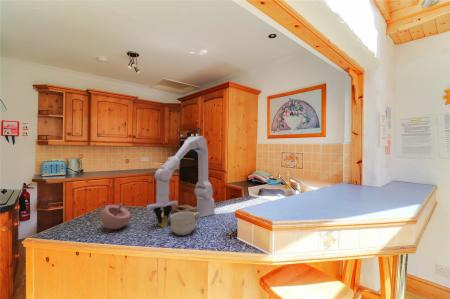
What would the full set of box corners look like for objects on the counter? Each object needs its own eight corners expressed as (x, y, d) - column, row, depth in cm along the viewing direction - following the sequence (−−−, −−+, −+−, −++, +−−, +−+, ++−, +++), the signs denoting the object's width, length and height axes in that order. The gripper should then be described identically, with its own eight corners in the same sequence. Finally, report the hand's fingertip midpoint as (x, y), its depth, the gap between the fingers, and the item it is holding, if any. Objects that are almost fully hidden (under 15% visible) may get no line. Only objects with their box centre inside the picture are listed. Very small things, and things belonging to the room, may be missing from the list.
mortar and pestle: (123, 233, 88) (124, 206, 88) (94, 234, 87) (95, 207, 88) (134, 223, 100) (134, 200, 100) (108, 224, 99) (109, 200, 100)
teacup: (173, 239, 83) (173, 219, 83) (167, 230, 92) (167, 212, 92) (205, 233, 89) (206, 215, 89) (197, 225, 99) (197, 208, 99)
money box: (186, 216, 112) (186, 204, 112) (196, 221, 104) (196, 208, 104) (170, 219, 106) (170, 207, 106) (179, 225, 98) (180, 211, 98)
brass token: (162, 223, 101) (162, 213, 101) (167, 226, 97) (167, 215, 97) (157, 224, 99) (158, 214, 99) (162, 227, 95) (162, 216, 95)
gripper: (173, 190, 106) (172, 217, 106) (144, 194, 97) (144, 223, 97) (179, 193, 100) (179, 221, 100) (149, 197, 91) (149, 227, 91)
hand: (162, 222), depth 98 cm, fingers closed on brass token, 2 cm apart
